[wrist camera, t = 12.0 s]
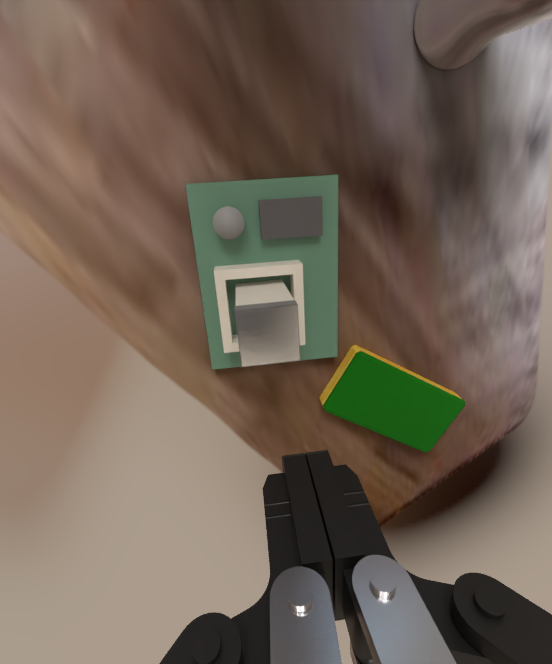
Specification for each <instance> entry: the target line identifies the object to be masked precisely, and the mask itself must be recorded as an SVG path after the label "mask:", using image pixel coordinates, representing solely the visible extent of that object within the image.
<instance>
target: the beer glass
mask: <svg viewBox="0 0 552 664" xmlns="http://www.w3.org/2000/svg"><path fill="white" fill-rule="evenodd" d="M550 18H552V0H419V2H418V4H417V8H416V12H415V17H414V35H415V40H416V44H417V47H418V49H419V51H420V53H421V55H422V56H423V58H424V59H425V60H426V61H427V62H428V63H429V64H431V65H432V66H434V67H436V68H439V69H443V70H452V69H456V68H459V67H462V66H464V65H466V64H467V63H469V62H470V61H471V60H473V59H474V58H475V57H476V56H477V55H478V54H479V53H480V52H481V51H482V50H483V49H484V48H485V47H486V46H487V45H488V44H489V43H491V42H492V41H493V40H495V39H496V38H498V37H500V36H502V35H505V34H508V33H510V32H513V31H516V30H519V29H522V28H525V27H528V26H531V25H534V24H537V23H540V22H543V21H545V20H548V19H550Z"/></svg>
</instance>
